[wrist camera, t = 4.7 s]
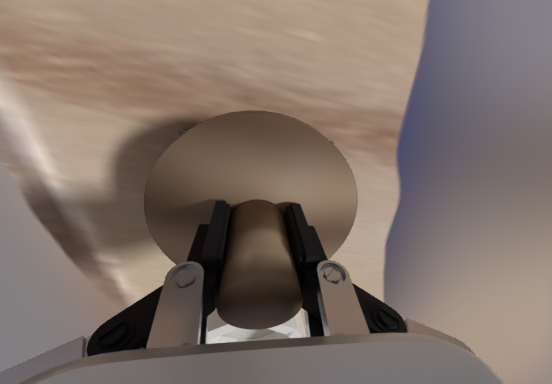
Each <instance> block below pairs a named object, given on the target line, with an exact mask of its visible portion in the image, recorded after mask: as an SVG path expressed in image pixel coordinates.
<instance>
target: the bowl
mask: <svg viewBox="0 0 552 384" xmlns="http://www.w3.org/2000/svg"><path fill="white" fill-rule="evenodd" d="M302 337H306V334H305V329H304V325H303V320H302V316H301V311H299V312H298V313H297V314H296V315H295V316H294V317H293V318H292V319H290V320H289V321H287V322H285V323H283V324H281V325H278V326H275V327H272V328H267V329H260V330H248V329H241V328H237V327H234V326H231V325H229V324H227V323H226V322H224V321H223V320H222V319H221V318H220V317H219V315H218V313H217V308H216V309H215V311H214V312H212V313H211V314H210V315H209V316H208V331H207V344H212V343H226V342H241V341H256V340H271V339H286V338H302Z"/></svg>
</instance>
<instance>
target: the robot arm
mask: <svg viewBox="0 0 552 384" xmlns="http://www.w3.org/2000/svg"><path fill="white" fill-rule="evenodd" d="M284 219H285V224H286V228H287V232H288V237H289V241H290V245H291V250H292V254H293V258H294V263H295V267H296V271H297V276H298V280H299V284H300V289H301V293H302V297H303V304H302V308H303V309H304V310H305V321H306V330H307V337H302V338H286V339H271V340H256V341H241V342H226V343H212V344H207V331H208V316H209V315H210V314H211V313H212V312H214V311H215V309H216V308H217V300H218V293H219V286H220V280H221V276H222V271H223V264H224V257H225V250H226V243H227V236H228V229H229V222H230V204H226V201H216V202H215V206H214V210H213V213H212V217H211V221H210V224H199V226H198V229H197V232H196V234H195V237H194V240H193V243H192V246H191V249H190V252H189V255H188V258H187V261H186V262H182V263H180V264H177V265H176V266H174V267H173V268H171V270H170V271H169V272H168V273H167V275H166V277H165V281H164V285H162V286H161V287H159V288H158V289H156V290H155V291H153V292H151V293H150V294H148V295H147V296H145V297H144V298H142V299H140V300H139V301H137V302H136V303H134V304H133V305H131V306H130V307H128V308H126V309H125V310H123V311H122V312H120V313H119V314H117V315H116V316H114V317H112V318H111V319H109V320H108V321H106V322H105V323H104V324H102V325H101V326H100V327H99V328H98V329H97V330H96V331H95V332H94V333H93V335H91V336H89V337H86V338H84V336H81V337H79V338H77V339H74V340H72V341H70V342H68V343H66V344H63V345H61V346H59V347H56V348H54V349H52V350H50V351H47V352H45V353H43V354H41V355H38V356H36V357H34V358H32V359H29V360H28V361H25V362H23V363H20V364H18V365H16V366H14V367H12V368H9V369H7V370H5V371H3V372H1V373H0V384H506V383H505V382H504V380H503V379H502V378H501V377H500V376H499V375H498V374H497V373H496V372H494V370H493V369H492V368H491V367H490V366H488V365H487V364H486V363H485V362H484V361H482V360H481V359H480V358H479V357H477V356H476V355H475V354H474V353H473V352H472V350H471V349H470V348H469V347H468V346H467V345H465V344H464V343H463V342H461V341H460V340H458V339H456V338H454V337H452V336H449V335H447V334H444V333H442V332H440V331H437V330H435V329H432V328H430V327H427V326H425V325H423V324H420V323H418V322H415V321H413V320H411V319H408V318H406V320H404V319H402V317H401V316H400V315H399V314H398V313H397V312H396V311H395V310H394V309H392V308H391V307H389V306H388V305H386V304H385V303H383V302H382V301H380V300H378V299H377V298H375V297H374V296H372V295H370V294H369V293H367V292H366V291H364V290H363V289H361V288H359V287H358V286H356V285H355V284H353V283H352V282H351V279H350V276H349V273H348V272H347V270H346V269H345V268H344V267H343V266H342V265H341V264H339V263H337V262H335V261H331V260H328V259H327V256H326V254H325V252H324V249H323V247H322V244H321V242H320V240H319V237H318V235H317V232H316V230H315V228H314V226H308V223H307V221H306V218H305V215H304V213H303V210H302V207H301V205H300V204H299V203H290V205H289V206H286V211H285V218H284Z"/></svg>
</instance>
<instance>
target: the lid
mask: <svg viewBox="0 0 552 384" xmlns="http://www.w3.org/2000/svg"><path fill="white" fill-rule="evenodd" d="M216 201H226V204H230V222H229V229H228V236H227V243H226V250H225V257H224V264H223V271H222V276H221V280H220V286H219V293H218V300H217V313H218V315H219V317H220V318H221V319H222V320H223V321H224V322H226V323H227V324H229V325H231V326H234V327H237V328H241V329H248V330H260V329H267V328H272V327H275V326H278V325H281V324H283V323H285V322H287V321H289V320H290V319H292V318H293V317H294V316H295V315H296V314H297V313H298V312H299V311H300V309H301V307H302V304H303V297H302V293H301V289H300V284H299V280H298V276H297V271H296V267H295V263H294V258H293V254H292V250H291V245H290V241H289V237H288V232H287V228H286V224H285V219H284V218H285V211H286V206H289V205H290V203H299V204H300V205H301V207H302V210H303V213H304V215H305V218H306V221H307V223H308V226H314V228H315V230H316V232H317V235H318V237H319V240H320V242H321V244H322V247H323V249H324V252H325V254H326V256H327V259H329V258H330V257H331V256H332V255H333V254H334V253H335V252H336V251H337V250H338V249H339V248H340V246H341V245H342V244H343V243H344V241H345V239H346V238H347V236H348V234H349V232H350V230H351V228H352V226H353V223H354V220H355V216H356V211H357V204H358V197H357V187H356V182H355V178H354V176H353V173H352V170H351V168H350V166H349V164H348V163H347V161H346V159H345V158H344V156H343V155H342V154H341V152H340V151H339V150H338V149H337V147H335V146H334V145H333V144H332V143H331V142H330V141H329V140H328V139H327V138H326V137H325V136H323V135H322V134H321V133H320V132H318V131H317V130H315V129H314V128H312V127H311V126H309V125H308V124H306V123H304V122H302V121H299V120H297V119H295V118H292V117H289V116H286V115H283V114H279V113H273V112H267V111H239V112H231V113H227V114H223V115H219V116H215V117H213V118H211V119H208V120H206V121H203V122H201V123H199V124H198V125H196V126H194V127H193V128H191V129H189V130H188V131H186V132H185V133H184V134H183V135H182V136H181V137H179V138H178V139H177V140H176V141H175V142H174V143H172V144H171V145H170V146H169V147H168V148H167V149H166V151H165V152H164V153H163V154H162V155H161V156H160V158H159V159H158V161H157V162H156V164H155V166H154V167H153V169H152V171H151V173H150V176H149V179H148V181H147V184H146V190H145V195H144V210H145V216H146V221H147V224H148V227H149V230H150V233H151V234H152V236H153V238H154V240H155V242H156V243H157V245H158V246H159V247H160V249H161V250H162V251H163V252H164V254H165V255H166V256H167V257H168V258H169V259H170V260H171V261H173V262H174V263H175V264H176V265H177V264H180V263H182V262H186V261H187V258H188V255H189V252H190V249H191V246H192V243H193V240H194V237H195V234H196V232H197V229H198V226H199V224H210V221H211V217H212V213H213V210H214V206H215V202H216Z"/></svg>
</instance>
